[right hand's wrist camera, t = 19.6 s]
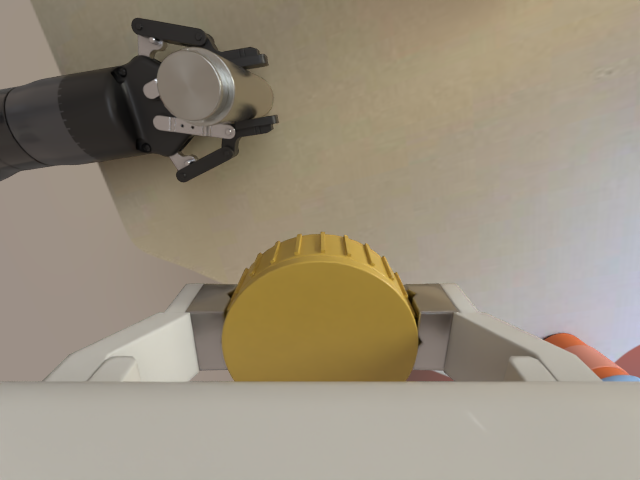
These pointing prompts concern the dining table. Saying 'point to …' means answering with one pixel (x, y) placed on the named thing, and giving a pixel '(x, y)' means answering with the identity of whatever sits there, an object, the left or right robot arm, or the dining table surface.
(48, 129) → the left robot arm
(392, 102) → the dining table surface
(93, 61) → the dining table surface
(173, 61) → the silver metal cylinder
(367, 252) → the lid
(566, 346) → the cup with straw
